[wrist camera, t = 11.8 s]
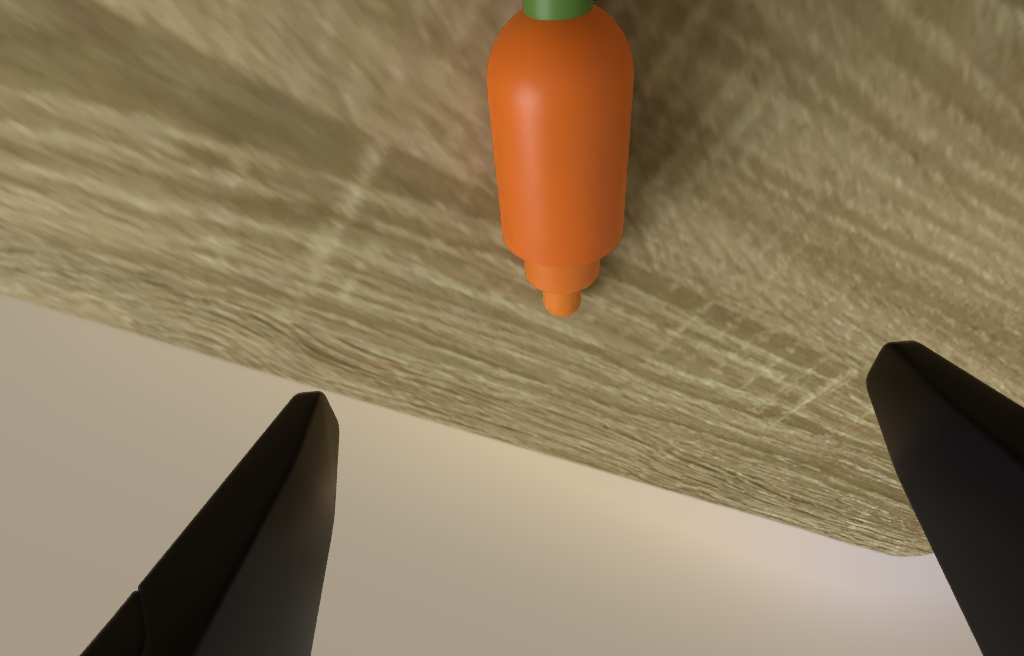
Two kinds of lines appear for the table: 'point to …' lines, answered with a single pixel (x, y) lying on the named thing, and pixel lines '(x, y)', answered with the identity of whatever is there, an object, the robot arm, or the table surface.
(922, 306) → the table surface
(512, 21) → the carrot
